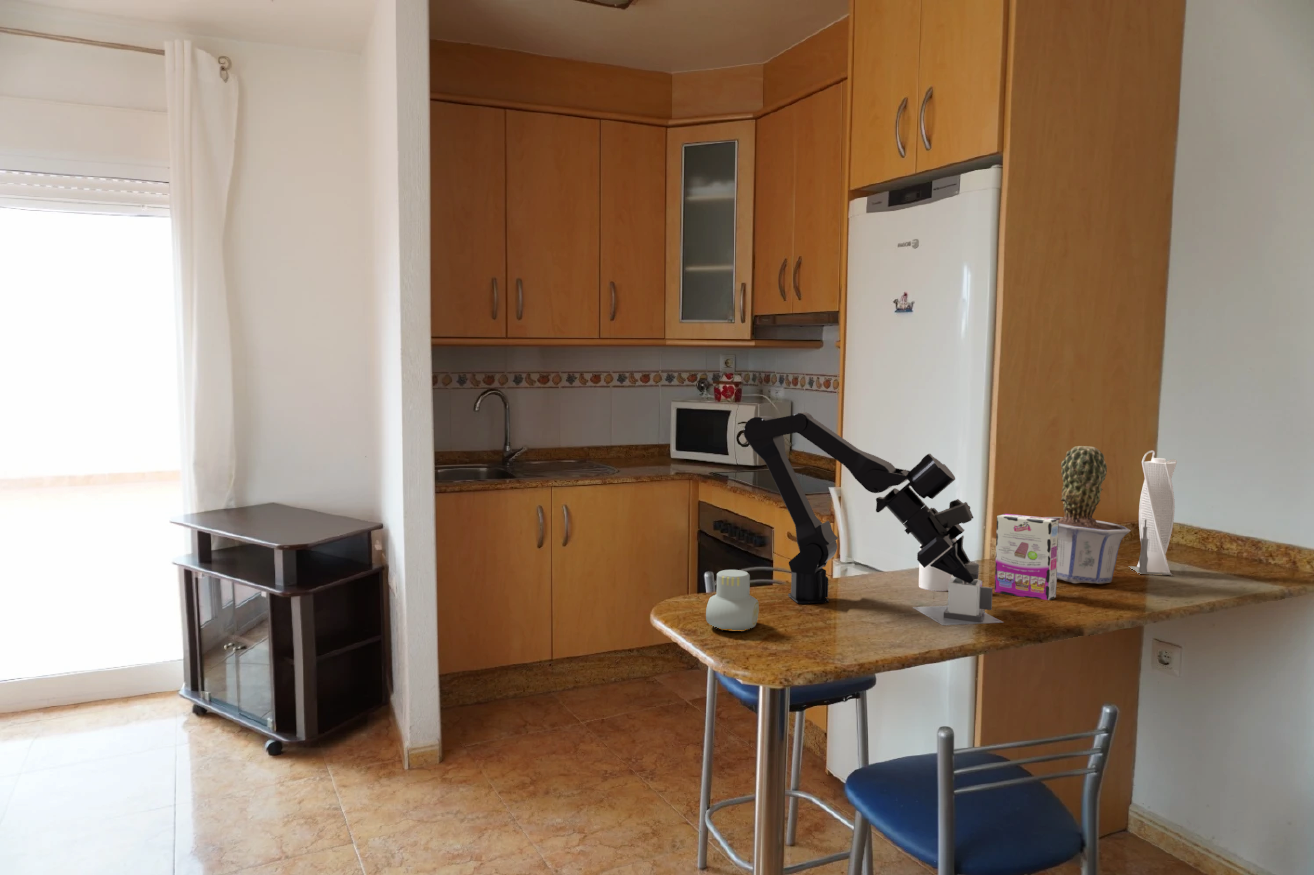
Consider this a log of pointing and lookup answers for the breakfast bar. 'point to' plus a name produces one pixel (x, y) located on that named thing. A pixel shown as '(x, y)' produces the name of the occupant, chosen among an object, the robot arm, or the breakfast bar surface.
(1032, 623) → the breakfast bar surface
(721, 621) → the air freshener
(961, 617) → the white square sleeve
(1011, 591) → the candy bar box
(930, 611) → the slate mat
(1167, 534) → the skyscraper
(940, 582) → the can
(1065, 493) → the potted plant
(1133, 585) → the breakfast bar surface
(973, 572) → the plunger
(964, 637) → the breakfast bar surface
